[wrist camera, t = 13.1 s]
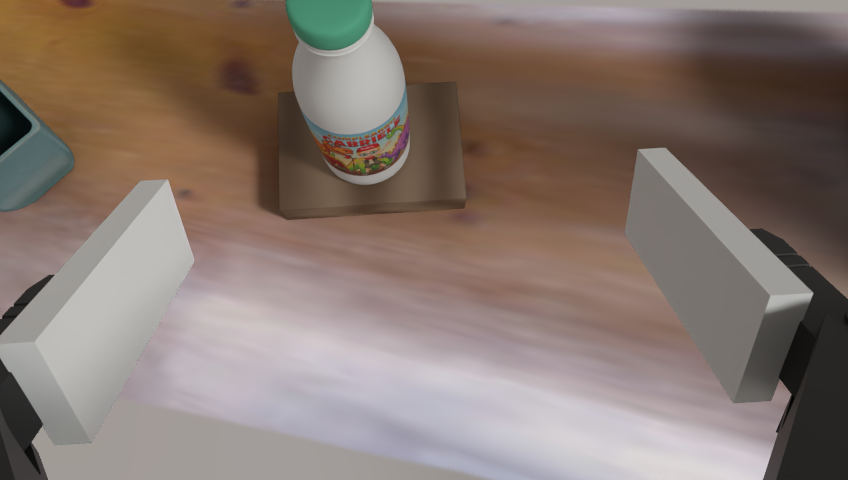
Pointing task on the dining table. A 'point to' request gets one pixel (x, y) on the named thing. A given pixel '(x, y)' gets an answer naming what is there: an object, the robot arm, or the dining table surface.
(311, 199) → the brown flat block
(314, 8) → the milk bottle
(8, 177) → the flower pot
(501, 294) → the dining table surface
